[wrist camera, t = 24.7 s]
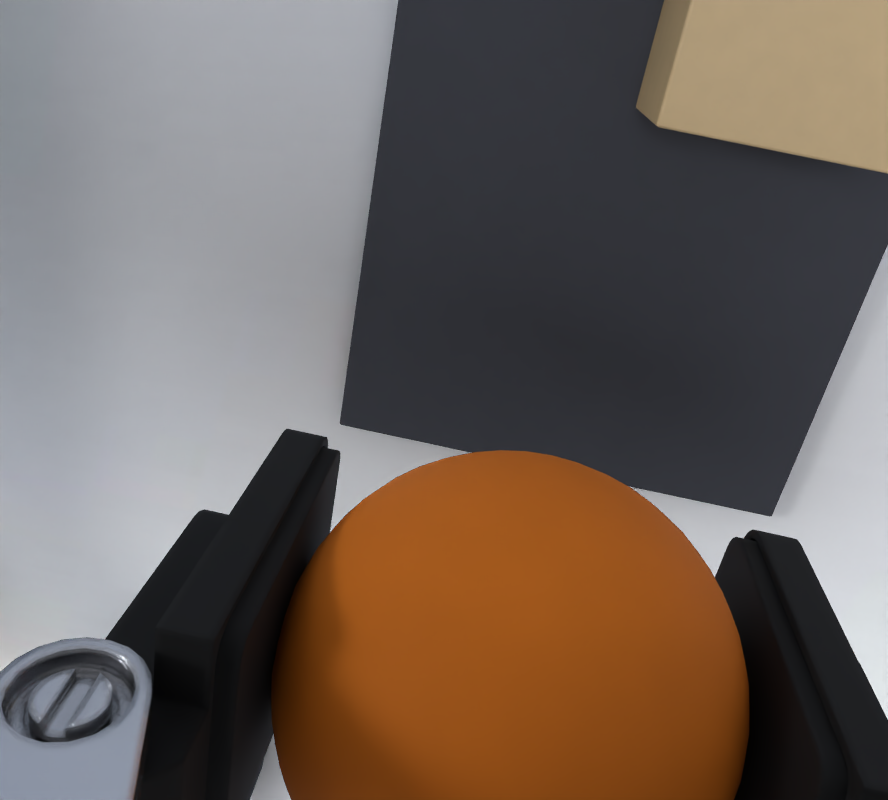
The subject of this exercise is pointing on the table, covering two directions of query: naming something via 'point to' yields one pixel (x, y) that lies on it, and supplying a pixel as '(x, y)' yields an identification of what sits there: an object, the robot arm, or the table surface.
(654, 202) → the mat
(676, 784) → the clementine
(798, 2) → the tan rectangular block
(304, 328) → the table surface
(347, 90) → the table surface
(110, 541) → the table surface
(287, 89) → the table surface
